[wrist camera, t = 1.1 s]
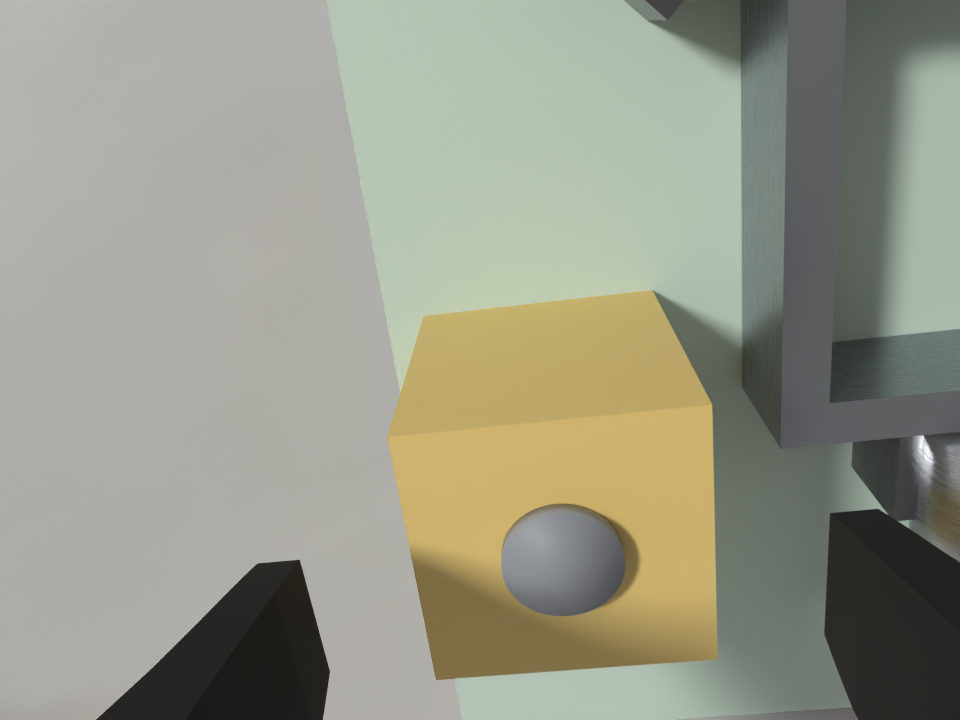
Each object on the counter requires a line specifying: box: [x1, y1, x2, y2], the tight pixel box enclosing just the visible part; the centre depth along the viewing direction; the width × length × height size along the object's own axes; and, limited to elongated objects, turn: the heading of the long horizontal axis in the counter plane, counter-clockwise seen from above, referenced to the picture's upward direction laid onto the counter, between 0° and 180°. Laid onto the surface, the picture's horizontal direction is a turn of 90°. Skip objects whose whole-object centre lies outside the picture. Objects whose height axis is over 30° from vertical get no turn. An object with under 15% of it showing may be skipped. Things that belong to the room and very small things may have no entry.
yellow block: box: [387, 290, 718, 680], centre depth 14 cm, size 4×4×5 cm
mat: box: [326, 0, 960, 720], centre depth 15 cm, size 22×16×1 cm
